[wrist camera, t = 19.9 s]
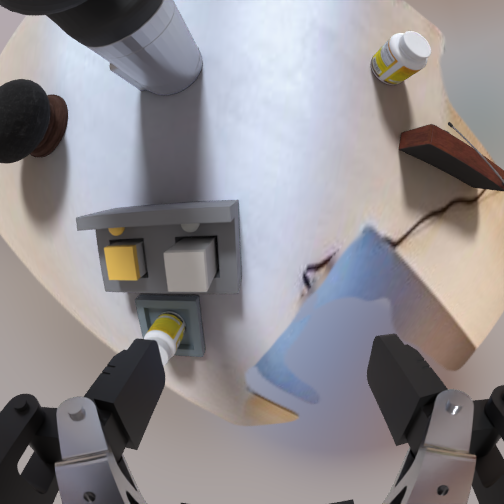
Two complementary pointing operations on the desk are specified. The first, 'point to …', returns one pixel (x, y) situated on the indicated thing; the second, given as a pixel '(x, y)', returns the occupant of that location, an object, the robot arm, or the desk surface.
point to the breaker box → (170, 240)
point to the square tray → (182, 305)
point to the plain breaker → (191, 264)
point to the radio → (452, 156)
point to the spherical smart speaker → (29, 121)
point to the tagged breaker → (126, 259)
